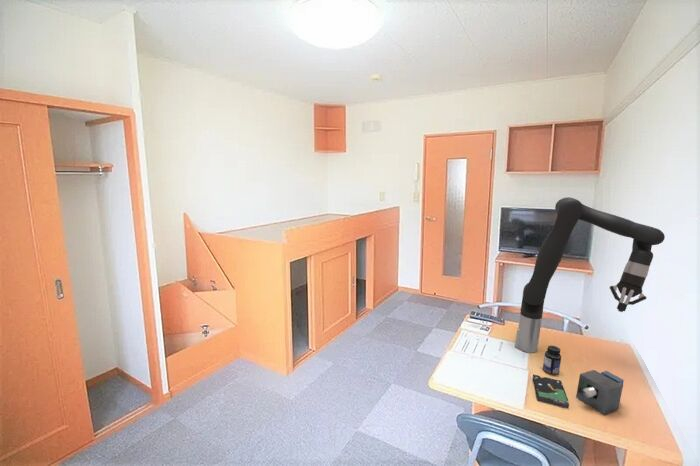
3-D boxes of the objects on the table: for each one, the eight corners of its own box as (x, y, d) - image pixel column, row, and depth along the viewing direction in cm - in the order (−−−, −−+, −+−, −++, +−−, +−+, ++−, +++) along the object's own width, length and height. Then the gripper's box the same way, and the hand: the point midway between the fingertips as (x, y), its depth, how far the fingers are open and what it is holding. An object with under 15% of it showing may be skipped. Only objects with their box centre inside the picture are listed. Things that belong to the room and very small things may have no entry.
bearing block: (590, 392, 129) (594, 369, 127) (618, 410, 119) (623, 385, 117) (576, 397, 126) (580, 373, 124) (603, 415, 117) (608, 390, 115)
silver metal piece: (602, 391, 128) (606, 370, 126) (619, 401, 122) (623, 380, 121) (576, 400, 123) (579, 378, 121) (592, 410, 117) (596, 388, 115)
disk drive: (531, 380, 137) (537, 402, 123) (532, 374, 136) (538, 395, 123) (560, 386, 133) (569, 410, 119) (561, 380, 132) (570, 403, 119)
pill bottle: (557, 369, 143) (561, 346, 141) (559, 377, 138) (563, 353, 136) (541, 365, 146) (545, 343, 144) (543, 373, 140) (546, 349, 138)
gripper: (614, 268, 139) (600, 305, 142) (655, 279, 130) (639, 319, 133) (616, 267, 145) (602, 304, 147) (655, 278, 136) (640, 317, 139)
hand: (620, 311), depth 140 cm, fingers closed
